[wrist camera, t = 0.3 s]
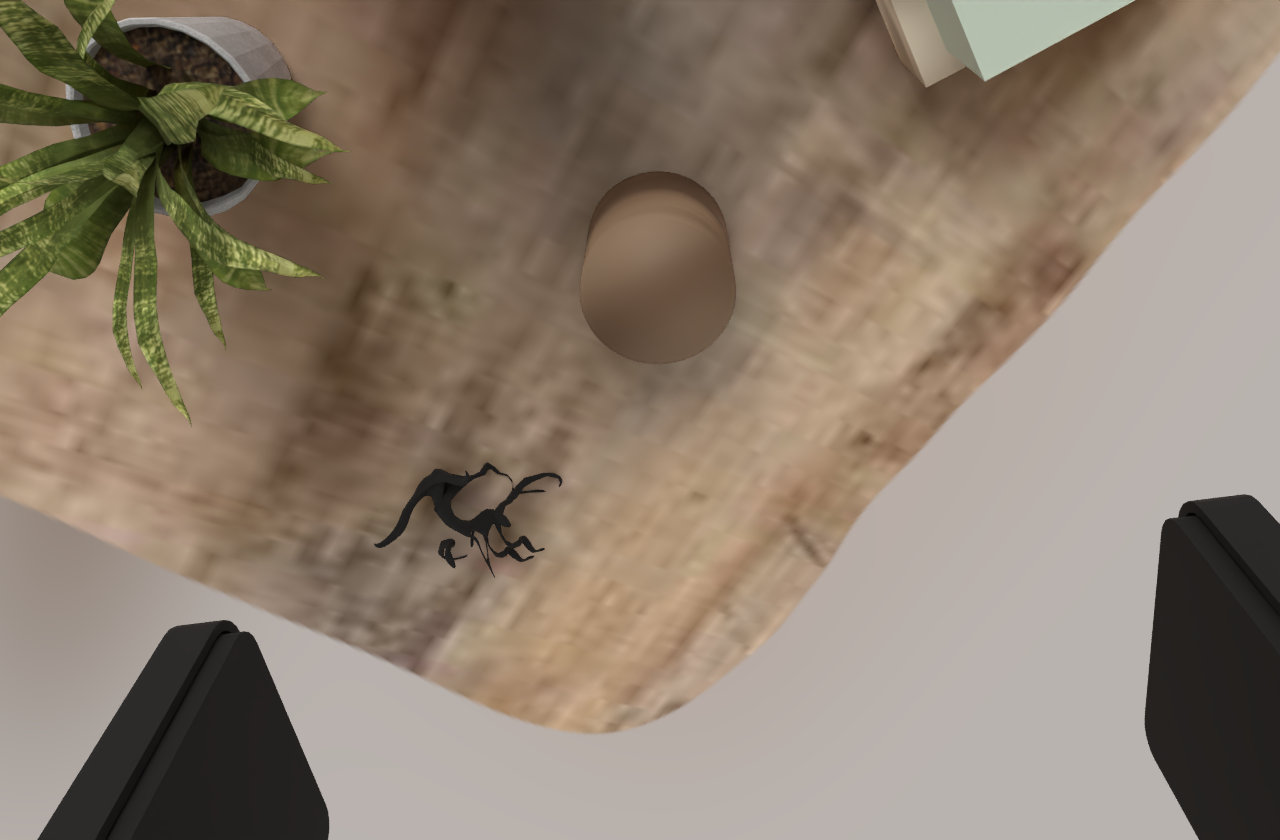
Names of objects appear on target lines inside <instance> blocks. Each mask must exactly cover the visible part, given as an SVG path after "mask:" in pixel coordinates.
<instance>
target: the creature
mask: <svg viewBox="0 0 1280 840" xmlns="http://www.w3.org/2000/svg"><path fill="white" fill-rule="evenodd" d="M488 469H492V470H493V471H494V472H496V473H497V474H501V475H505V476H508V475H507V474H503V473H500V472H499V471H498V470H497V469H496V468H495V467H494V466H492V465H491V464H489V463H486V464H485V465H484V466H483V468H482V469H481V471H480V472H478V473H476V474H474V475H470V476H469V474H468V472H467V471H465V472H466V476H460V475H455V474H450V473H448V472H446V471H444V470H442V469H435V470H433V472H432V473H431V474H430V475H429V476H427V477H426V478H424V479H423V480H422V481H421V482H420V484H419V485H418V487H417V489H416V491H415V493H414V495H413V496H412V498H411V499H410V500H409V502H408V503H407V505H406V506H405V508H404V509H403V511H402V514H401V516H400V519H399V521H398V523H397V525H396V527H395V529H394V530H393V531H392V533H391V534H390V535H389V536H388V537H387V538H386V539H384V540H383V541H382V542H380V543H378V544H374V545H375V546H376V547H377V548H382V547H385V546H386V545H388V544H390V543H391V542H392V541H394V540H395V539H396V538H397V537H399V536H400V535H401V534H402V533H403V531H404V530H405V528H406V526H407V524H408V521H409V518H410V515H411V513H412V511H413V509H414V507H415V505H416V504H417V503H418V502H419V501H420V500H421V499H422V498H423V497H424V496H431V497H432V499H433V501H434V505H435V512H436V513H437V514H438V516H439V517H440V518H441V519H442V521H443V522H444V523H445V524H446V525H447V526H448V527H450V528H452V529H453V530H455V531H457V532H459V533H461V534H463V535H465V536H467V537H470V538H471V547H472V546H473V541H474V540H475V541H476V542H477V544H478V546H479V548H480V550H481V547H480V544H479V542H478V540H477V538H476V537H474V531H477V532H478V533H480V534H482V535H483V537H484V540H485V542H486V547H487V543H488V546H489V548H490V549H491V551H492V552H493V554H494V555H495V556H496V557H500V558H502V557H505V556H507V554H509V555H510V556H511V557H513V558H514V559H516V560H517V561H519V562H523V561H526V560H529V559H531V558H533V557H534V556H529V557H527V558H526V559H522V558H521V557H520V556H519V554H518V553H517V552H516V551H515V550H514V548H516V547H518V546H520V545H521V544H522V543H523V544H524V546H525V547H526V548H527V549H528V550H529V551H531V552H532V553H534V552H539V551H543V550H544V549H545V548H541V549H539V550H535V549H534V547H533V546H532V544H531V543H530V541H529V540H528V538H527V537H526V536H521V537H519V539H518V541H516V542H514V543H510V542H508V541H506V540H505V538H504V537H503V535H502V532H501V525H502V526H504V527H510V526H511V524H510V522H509V520H508V519H507V517H506V516H505V515H503V512H504V509H505V506H506V505H508V504H510V503H512V501H513V500H515V499H516V498H517V497H518V495H519V494H522V493H528V492H546V491H544V490H532V491H523V492H522V489H523V488H524V487H525V486H527V485H528V484H530V483H531V482H533V481H536V480H538V479H541V478H543V477H546V476H550V477H554V478H558V479H559V481H560V485H559V487H560V486H561V484H562V479H561V477H560V476H559V475H557V474H554V473H541V474H538V475H534V476H530V477H526V478H524V479H523V480H522V481H521V482H520V483H519V484H518V485H517V486H516V487H515V489H514V488H512V491H511V493H510V494H509V496H508V497H507V499H506V500H505V501H503V502H502V503H500V504H499V506H498V507H497V508H496V509H495V510H493V509H486V510H484V511H482V512H481V513H480V514H479V515H477V516H476V517H475V518H473V519H472V520H471V521H469V522H468V521H466V520H460V519H459V518H458V517H456V516H455V515H454V513H453V511H452V509H451V499H452V498H453V497H454V496H455V495H456V494H457V493H458V492H459V491H460V490H461V489H462V488H463V487H464V486H465V485H466V484H467V483H469V482H470V481H472V480H473V479H475V478H478V477H481V476H483V475H485V474H486V472H487V471H488ZM508 477H509V476H508ZM509 479H510V480H511V478H510V477H509ZM511 482H512V480H511ZM512 484H513V483H512ZM493 524H495V526H496V528H497V530H498V532H499V533H500V535H501V537H502V539H503V540H504V542H505V543H506V545H507V546H508V547H506V548H505V549H504V551H502V552H500V553H497V552H495V551H494V550H493V549H492V548H491V547H490V545H489V542H488V533H489V530H490V528H491V526H492V525H493ZM471 532H472V535H471ZM454 545H455V540H453V539H447V540H443V541H441V543H440V547H439V551H438V553H439V555H440V556H441V557H442V558H444V559H446V561H447V562H448V563H449V565H450V566H451V567H453V568H455V567H456V566H455V561H454V560H456V559H461V558H464V557H466V556H467V555H466V556H463V557H459V558H453V557H452V554H451V552H450V551H451V548H452V547H454ZM444 548H446V551H445V556H444ZM481 553H482V555H483V557H484V559H485V561H486V563H487V564H488V566H489V568H490V570H491V572H492V569H491V566H490V562H489V557H488V549H487V558H488V559H487V560H486V558H485V556H484V554H483V552H482V550H481ZM492 574H493V572H492ZM493 576H494V574H493ZM494 578H495V576H494Z"/></svg>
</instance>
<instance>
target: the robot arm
mask: <svg viewBox="0 0 1280 840" xmlns="http://www.w3.org/2000/svg"><path fill="white" fill-rule="evenodd" d="M1145 731H1146V736H1147V740H1148V744H1149V747H1150V750H1151V752H1152V755H1153V757H1154V759H1155V761H1156V763H1157V764H1158V766H1159V768H1160V770H1161V772H1162V773H1163V775H1164V777H1165V779H1166V781H1167V783H1168V784H1169V786H1170V788H1171V790H1172V791H1173V793H1174V795H1175V797H1176V799H1177V801H1178V802H1179V804H1180V806H1181V808H1182V810H1183V811H1184V813H1185V815H1186V817H1187V819H1188V821H1189V822H1190V824H1191V826H1192V828H1193V830H1194V831H1195V833H1196V835H1197V836H1198V839H1199V840H1280V524H1279V523H1278V522H1277V521H1276V520H1275V519H1274V517H1273V516H1272V515H1271V514H1270V513H1269V512H1268V511H1267V510H1266V509H1265V508H1264V507H1263V506H1262V505H1261V503H1260V502H1259V501H1257V500H1256V499H1255V498H1254V497H1252V496H1250V495H1236V496H1228V497H1219V498H1212V499H1203V500H1196V501H1188V502H1186V503H1184V504H1183V506H1182V507H1181V509H1180V511H1179V517H1178V518H1170V519H1167V520H1165V522H1164V524H1163V527H1162V532H1161V542H1160V554H1159V564H1158V576H1157V586H1156V598H1155V609H1154V620H1153V631H1152V642H1151V654H1150V664H1149V675H1148V686H1147V698H1146V708H1145ZM328 834H329V816H328V810H327V807H326V804H325V802H324V799H323V797H322V795H321V792H320V790H319V788H318V785H317V783H316V780H315V778H314V776H313V773H312V771H311V769H310V767H309V764H308V762H307V759H306V757H305V755H304V752H303V750H302V748H301V746H300V743H299V740H298V738H297V736H296V733H295V731H294V729H293V726H292V724H291V722H290V719H289V717H288V715H287V712H286V710H285V708H284V705H283V703H282V700H281V698H280V696H279V694H278V691H277V689H276V686H275V684H274V682H273V679H272V677H271V675H270V672H269V670H268V668H267V665H266V663H265V660H264V658H263V656H262V654H261V651H260V649H259V646H258V644H257V642H256V640H255V638H254V637H253V635H251V634H250V633H249V632H240V631H239V630H238V628H237V626H236V625H234V624H233V623H232V622H231V621H226V620H222V621H213V622H205V623H197V624H189V625H181V626H176V627H173V628H171V629H170V630H169V631H168V632H167V633H166V634H165V635H164V637H163V639H162V640H161V642H160V643H159V645H158V647H157V648H156V650H155V651H154V653H153V655H152V656H151V658H150V660H149V661H148V663H147V664H146V666H145V668H144V669H143V671H142V673H141V674H140V676H139V677H138V679H137V680H136V682H135V684H134V686H133V687H132V689H131V690H130V692H129V693H128V695H127V697H126V698H125V700H124V702H123V703H122V705H121V706H120V708H119V710H118V711H117V713H116V714H115V716H114V717H113V719H112V721H111V722H110V724H109V725H108V727H107V729H106V730H105V732H104V734H103V735H102V737H101V738H100V740H99V742H98V743H97V745H96V746H95V748H94V750H93V751H92V753H91V754H90V756H89V758H88V760H87V761H86V763H85V764H84V766H83V767H82V769H81V771H80V772H79V774H78V775H77V777H76V779H75V780H74V782H73V783H72V785H71V787H70V789H69V790H68V791H67V793H66V795H65V796H64V798H63V800H62V801H61V803H60V804H59V806H58V808H57V809H56V811H55V812H54V814H53V816H52V817H51V819H50V820H49V822H48V824H47V825H46V827H45V828H44V830H43V832H42V833H41V835H40V837H39V838H38V840H328Z"/></svg>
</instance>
